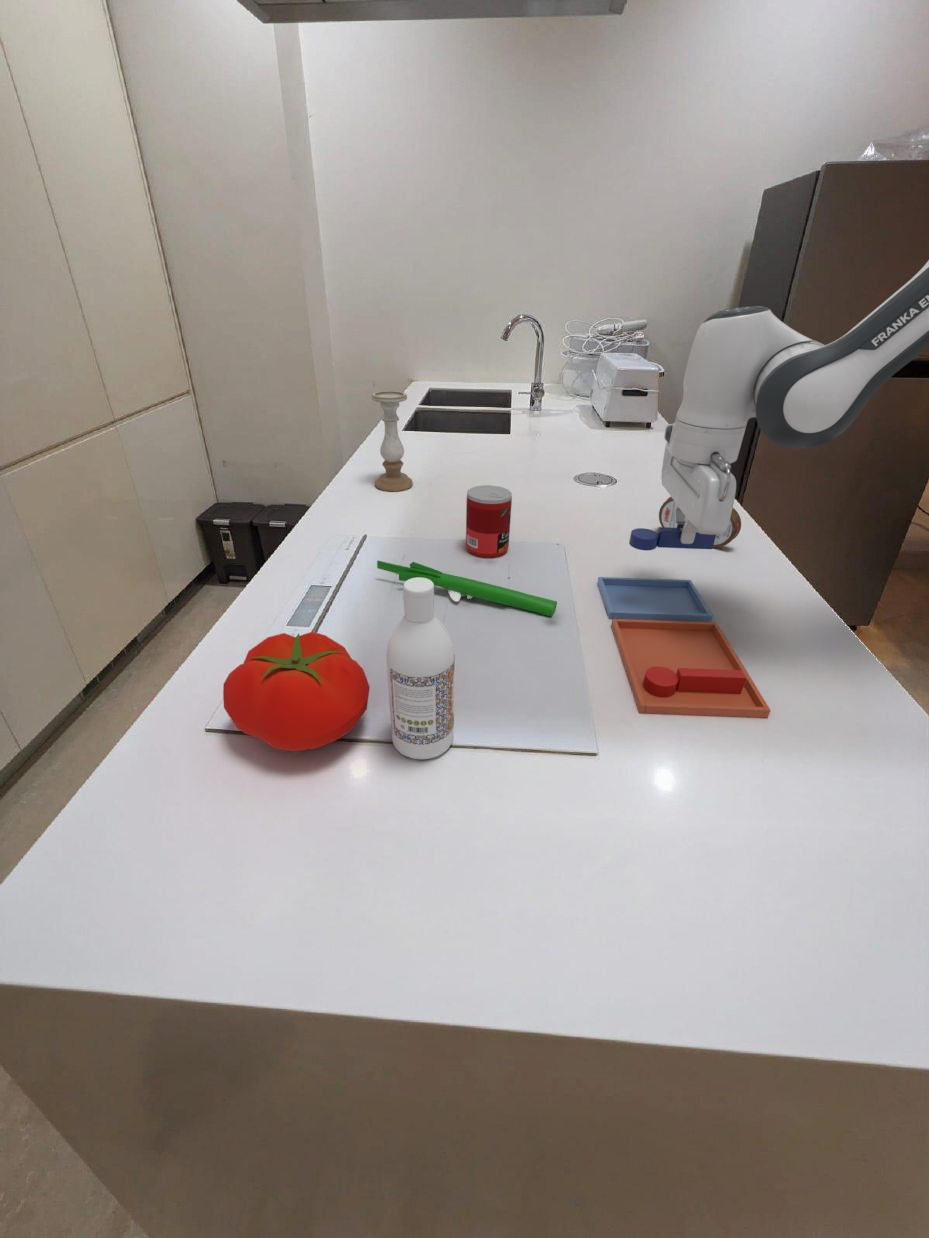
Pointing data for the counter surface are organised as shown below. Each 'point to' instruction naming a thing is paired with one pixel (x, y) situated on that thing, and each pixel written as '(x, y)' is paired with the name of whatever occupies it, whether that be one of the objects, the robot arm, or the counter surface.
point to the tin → (720, 540)
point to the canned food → (488, 520)
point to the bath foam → (421, 676)
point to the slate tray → (652, 599)
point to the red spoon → (692, 681)
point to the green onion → (472, 588)
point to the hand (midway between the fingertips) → (682, 537)
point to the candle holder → (391, 444)
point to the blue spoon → (667, 539)
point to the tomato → (296, 692)
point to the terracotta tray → (683, 649)
